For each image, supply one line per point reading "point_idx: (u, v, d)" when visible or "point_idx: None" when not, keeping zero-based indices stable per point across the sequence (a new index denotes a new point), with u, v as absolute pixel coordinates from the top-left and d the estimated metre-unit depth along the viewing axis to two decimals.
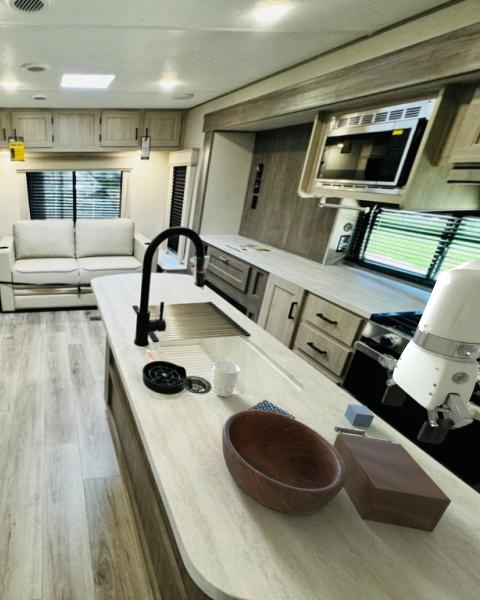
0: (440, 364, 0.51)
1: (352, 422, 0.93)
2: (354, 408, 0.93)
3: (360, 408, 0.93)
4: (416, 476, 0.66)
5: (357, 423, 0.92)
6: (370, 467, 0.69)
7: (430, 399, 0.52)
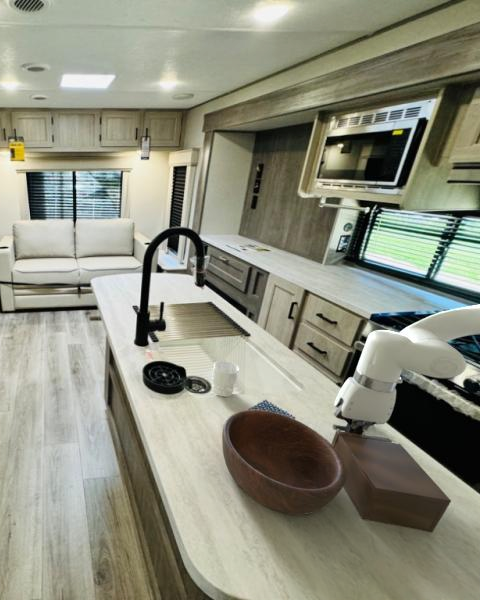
0: (393, 395, 0.74)
1: None
2: None
3: None
4: (416, 476, 0.66)
5: None
6: (370, 467, 0.69)
7: (388, 416, 0.76)
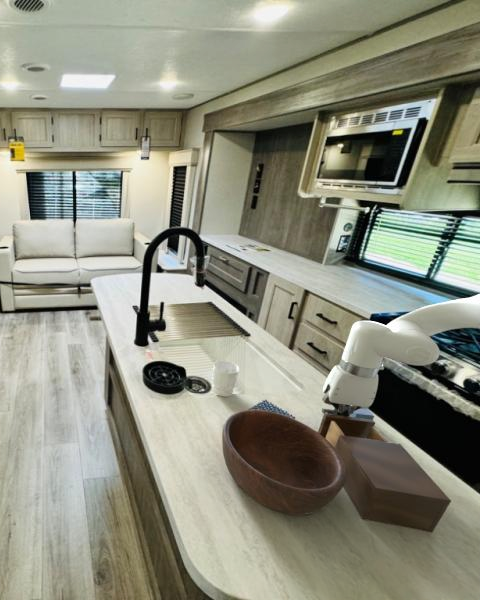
0: (375, 380, 0.80)
1: None
2: None
3: None
4: (416, 476, 0.66)
5: None
6: (370, 467, 0.69)
7: (371, 401, 0.82)
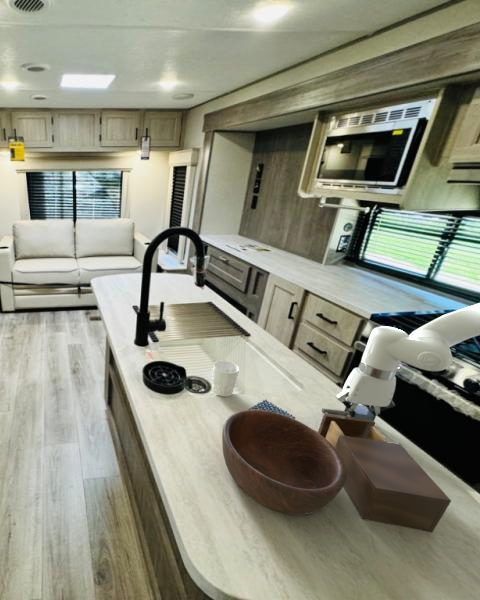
0: (393, 382, 0.86)
1: None
2: None
3: (360, 408, 0.93)
4: (416, 476, 0.66)
5: None
6: (370, 467, 0.69)
7: (389, 401, 0.88)
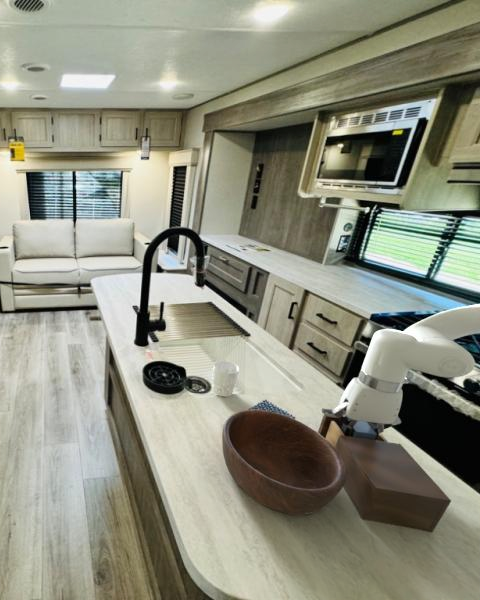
0: (399, 395, 0.72)
1: None
2: None
3: (360, 425, 0.80)
4: (416, 476, 0.66)
5: None
6: (370, 467, 0.69)
7: (394, 418, 0.74)
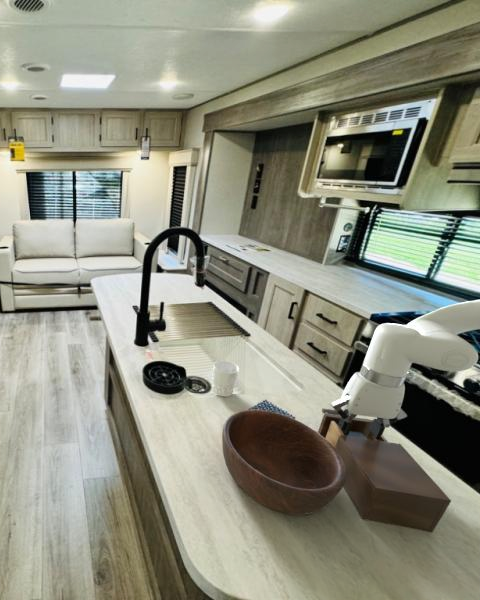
0: (402, 390, 0.72)
1: None
2: (349, 435, 0.81)
3: (355, 436, 0.81)
4: (416, 476, 0.66)
5: None
6: (370, 467, 0.69)
7: (396, 412, 0.74)
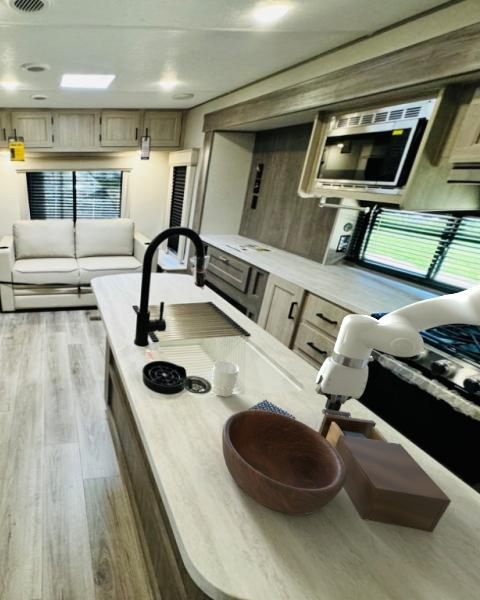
0: (365, 371, 0.84)
1: None
2: None
3: None
4: (416, 476, 0.66)
5: None
6: (370, 467, 0.69)
7: (362, 391, 0.86)
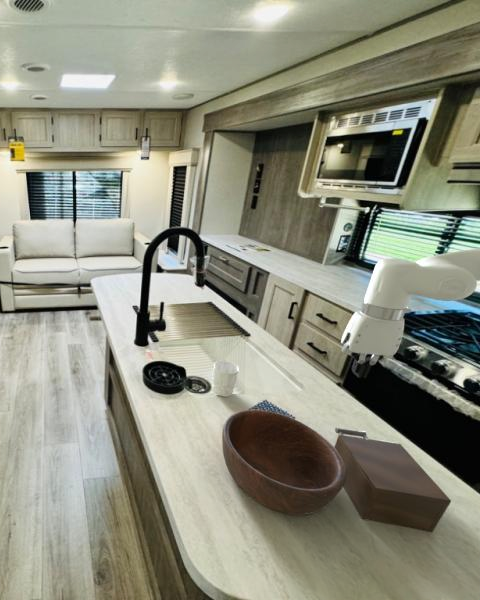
0: (401, 324, 0.73)
1: None
2: None
3: None
4: (416, 476, 0.66)
5: None
6: (370, 467, 0.69)
7: (396, 348, 0.75)
